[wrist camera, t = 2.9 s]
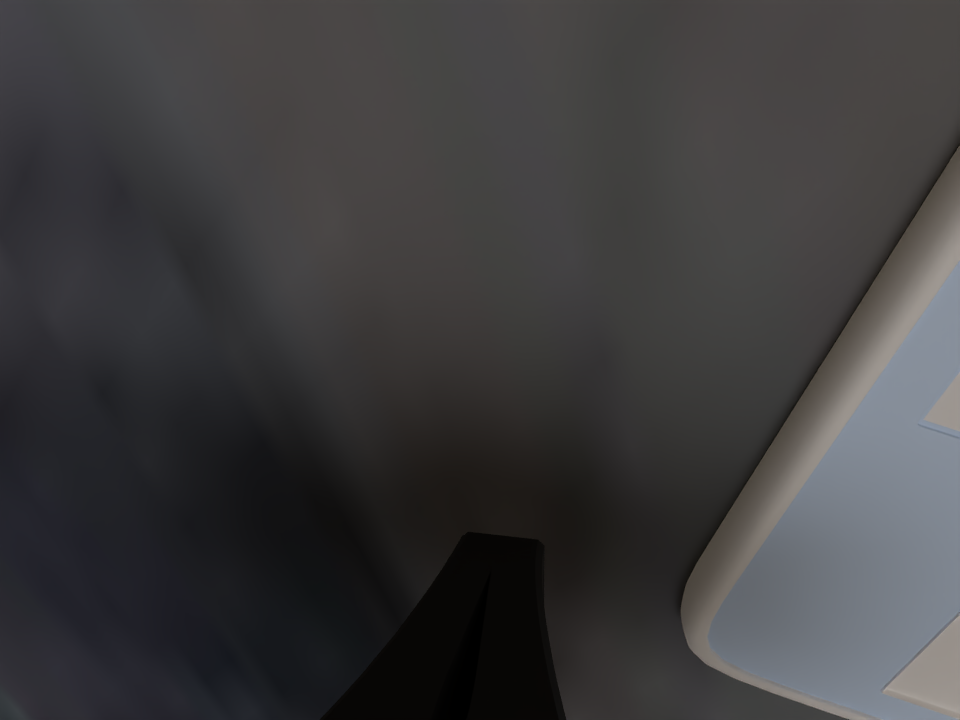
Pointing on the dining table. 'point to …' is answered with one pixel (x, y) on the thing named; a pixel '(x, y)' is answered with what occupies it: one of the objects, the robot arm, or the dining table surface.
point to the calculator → (856, 509)
